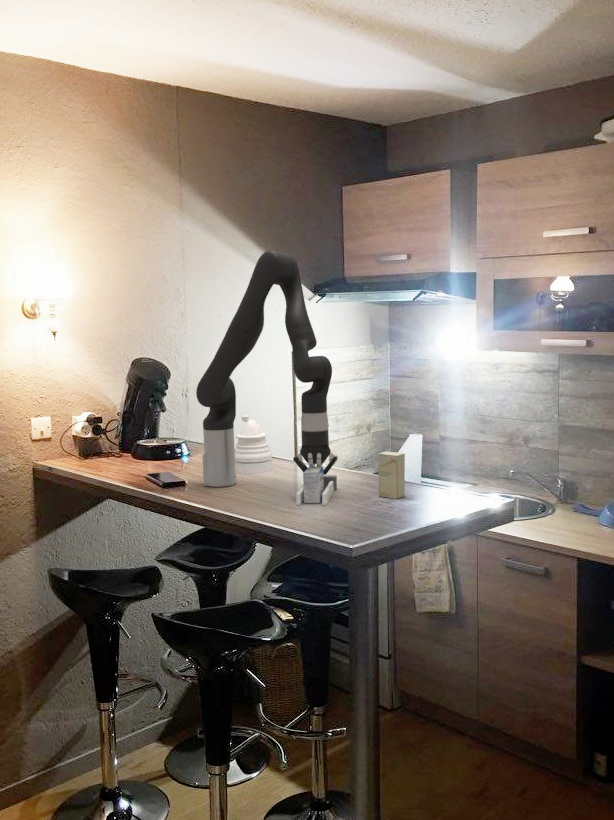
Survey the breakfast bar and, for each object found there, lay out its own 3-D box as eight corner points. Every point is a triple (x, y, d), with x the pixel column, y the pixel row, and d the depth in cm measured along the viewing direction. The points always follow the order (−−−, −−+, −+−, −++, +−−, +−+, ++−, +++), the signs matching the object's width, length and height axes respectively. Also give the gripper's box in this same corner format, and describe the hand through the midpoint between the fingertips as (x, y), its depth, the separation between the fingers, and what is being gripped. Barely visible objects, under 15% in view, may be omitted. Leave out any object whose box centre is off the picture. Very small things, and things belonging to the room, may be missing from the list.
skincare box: (378, 496, 233) (377, 453, 232) (387, 493, 237) (386, 450, 235) (397, 499, 230) (396, 455, 228) (406, 496, 233) (405, 452, 232)
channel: (294, 505, 226) (294, 490, 226) (306, 488, 247) (306, 475, 246) (328, 505, 225) (327, 490, 225) (337, 488, 245) (336, 475, 245)
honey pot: (230, 473, 273) (227, 419, 271) (238, 466, 286) (235, 413, 284) (269, 473, 272) (267, 418, 270) (275, 466, 285) (273, 413, 282)
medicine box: (320, 503, 227) (319, 472, 226) (303, 503, 228) (302, 472, 227) (324, 497, 235) (323, 466, 234) (308, 497, 236) (307, 466, 235)
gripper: (289, 430, 231) (291, 492, 233) (336, 430, 229) (338, 492, 231) (293, 426, 239) (295, 486, 241) (339, 425, 237) (341, 486, 239)
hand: (316, 489), depth 236 cm, fingers closed
